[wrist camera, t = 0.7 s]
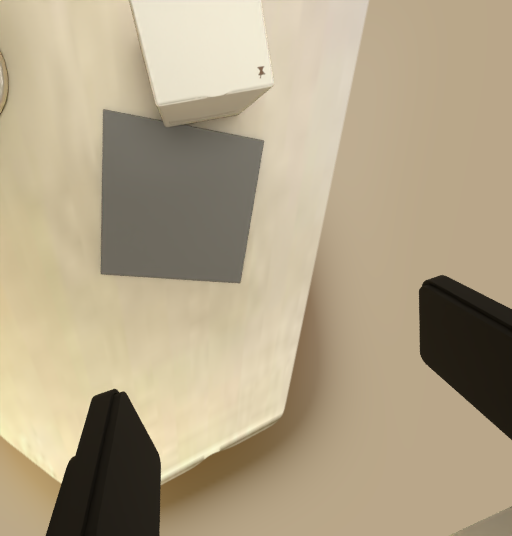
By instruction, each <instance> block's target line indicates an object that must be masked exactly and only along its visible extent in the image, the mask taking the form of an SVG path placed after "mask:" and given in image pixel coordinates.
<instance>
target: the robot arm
mask: <svg viewBox="0 0 512 536" xmlns="http://www.w3.org/2000/svg"><path fill="white" fill-rule="evenodd" d="M7 92H8V75H7V71H6V66H5V62H4V59H3V57H2V54H1V52H0V113H1V111H2V109H3V107H4V104H5V102H6V98H7ZM419 315H420V355H421V357H422V359H423V361H424V362H425V363H426V364H427V365H428V366H429V367H430V368H431V369H432V370H433V371H435V372H436V373H437V374H438V375H439V376H440V377H441V378H442V379H444V380H445V381H446V382H447V383H448V384H449V385H450V386H452V387H453V388H454V389H455V390H456V391H457V392H458V393H459V394H461V395H462V396H463V397H464V398H465V399H466V400H467V401H468V402H470V403H471V404H472V405H473V406H474V407H475V408H476V409H478V410H479V411H480V412H481V413H482V414H483V415H484V416H486V418H488V419H489V420H490V421H491V422H492V423H493V424H494V425H496V426H497V427H498V428H499V429H500V430H501V431H502V432H503V433H505V434H506V435H507V436H508V437H509V438H510V439H511V440H512V309H510V308H508V307H506V306H504V305H502V304H500V303H498V302H496V301H494V300H492V299H490V298H488V297H486V296H484V295H482V294H480V293H479V292H477V291H475V290H473V289H470V288H469V287H467V286H464V285H463V284H461V283H459V282H457V281H455V280H453V279H451V278H449V277H447V276H444V275H440V276H437V277H434V278H432V279H429V280H426V281H424V282H423V284H422V287H421V288H420V290H419ZM160 481H161V462H160V457H159V454H158V452H157V450H156V448H155V446H154V444H153V442H152V440H151V438H150V437H149V435H148V433H147V431H146V429H145V427H144V425H143V424H142V422H141V420H140V418H139V416H138V414H137V412H136V411H135V409H134V407H133V405H132V403H131V401H130V399H129V398H128V396H127V394H126V393H125V392H120V393H119V392H118V390H116V389H113V390H110V391H107V392H104V393H101V394H98V395H95V396H94V397H93V398H92V400H91V404H90V407H89V411H88V414H87V418H86V421H85V425H84V428H83V431H82V435H81V438H80V442H79V445H78V449H77V452H76V456H74V457H72V458H71V460H70V461H69V463H68V465H67V468H66V471H65V474H64V478H63V481H62V484H61V488H60V491H59V494H58V497H57V501H56V504H55V507H54V510H53V514H52V517H51V520H50V523H49V527H48V530H47V533H46V536H159V526H160V525H159V523H160ZM450 536H512V507H510V508H507V509H505V510H503V511H501V512H499V513H497V514H495V515H492V516H490V517H488V518H486V519H484V520H482V521H480V522H477V523H475V524H473V525H471V526H469V527H467V528H465V529H463V530H460V531H458V532H456V533H454V534H452V535H450Z"/></svg>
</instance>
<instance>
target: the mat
mask: <svg viewBox="0 0 512 536" xmlns="http://www.w3.org/2000/svg"><path fill="white" fill-rule="evenodd" d="M263 145H264V141H263V140H258V139H253V138H248V137H243V136H238V135H233V134H228V133H222V132H217V131H212V130H207V129H202V128H197V127H192V126H186V125H178V126H172V127H165V126H164V123H163V121H161V120H156V119H151V118H145V117H140V116H135V115H130V114H125V113H120V112H115V111H109V110H104V109H103V160H102V230H101V274H105V275H120V276H135V277H151V278H166V279H182V280H197V281H212V282H228V283H240V281H241V275H242V269H243V264H244V258H245V252H246V246H247V240H248V234H249V228H250V222H251V216H252V210H253V204H254V198H255V192H256V186H257V180H258V174H259V168H260V162H261V156H262V150H263Z"/></svg>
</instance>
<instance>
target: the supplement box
mask: <svg viewBox="0 0 512 536" xmlns="http://www.w3.org/2000/svg"><path fill="white" fill-rule="evenodd" d="M129 3H130V7H131V11H132V15H133V19H134V23H135V27H136V31H137V35H138V39H139V43H140V47H141V51H142V55H143V59H144V62H145V66H146V70H147V74H148V77H149V81H150V85H151V88H152V92H153V96H154V100H155V103H156V106H157V107H158V110H159V112H160V115H161V117H162V120H163V123H164V126H165V127H172V126H178V125H184V124H189V123H195V122H200V121H206V120H211V119H217V118H222V117H228V116H233V115H238V114H240V113H241V112H242V111H244V110H245V109H246V108H247V107H249V106H250V105H251V104H252V103H253V102H255V101H256V100H257V99H258V98H259V97H261V96H262V95H263V94H264V93H265V92H267V91H268V90H269V89H270V88H271V87H273V86H274V79H273V73H272V66H271V60H270V53H269V47H268V41H267V35H266V28H265V22H264V16H263V9H262V3H261V0H129Z"/></svg>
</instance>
